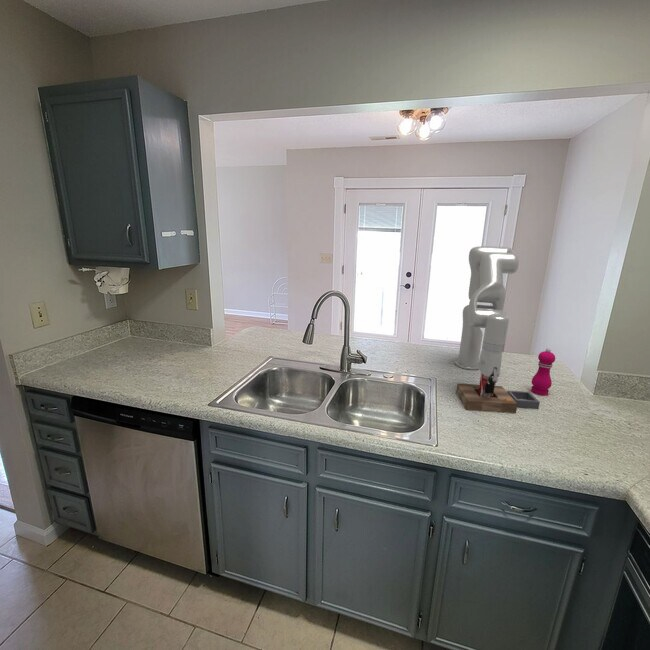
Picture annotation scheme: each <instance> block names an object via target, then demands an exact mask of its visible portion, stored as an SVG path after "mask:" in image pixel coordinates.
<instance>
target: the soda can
mask: <svg viewBox="0 0 650 650" xmlns="http://www.w3.org/2000/svg"><path fill="white" fill-rule="evenodd" d="M490 376H493V375H490ZM480 378H481V379H479V384H480V386H479V392H478V395H479V397H493V393H485V385H486V383H487V377H485V376H484V375H483V373H480ZM491 379H493V378H490V380H491Z"/></svg>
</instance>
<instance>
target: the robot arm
mask: <svg viewBox="0 0 650 650" xmlns="http://www.w3.org/2000/svg"><path fill="white" fill-rule="evenodd" d="M468 264H469V268H470V279H469V286H468V288H469V289H468V299H469V303H468V304H467V305H465V306H464V307H463V310H462V328H461V329H462V330H461V337H460V346H459V354H458V358H457V359H455V360H454V364H455V365H456V366H457V367H458V368H461V369H464V370H471V371H473V370H474V371H475V370H479V371H480V372H481V373H483V375H484V376H485V377H487V383H486V385H485V393H494V387H495V386H496V383H497V382H498V379H499V377H500V373H501V367H502V366H501V365H502V358H503V357H502V354H503V353H504V350H505V345H506V344H505V343H506V339H507V334H508V328H509V322H510V319H509V316H508V314H507V312H506V311H504V307H505V300H506V288H505V286H504V274H505V275H506V274H509V275H512V274H515V273H516V272H517V271H518V269H519V256H518V255H517V253H516V252H515V251H514V250H513V249H512V248H511V247H509V246H508V247H507V246H489V245H488V246H487V245H485V246H484V245H483V246H480V245H479V246H475V247H472V248H471V249H470V251H469V253H468ZM478 303H484V304H478ZM487 304H488V305H487ZM489 304H492V305H489ZM482 329H484V333H483V331H482ZM482 340H483V341H482ZM481 346H482V347H481ZM481 373H480V374H481ZM490 375H493V376H490ZM490 378H493V379H491V380H490ZM480 379H481V377H480ZM480 379H479V380H480ZM478 385H480V383H479V384H478Z"/></svg>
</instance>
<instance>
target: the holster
mask: <svg viewBox="0 0 650 650" xmlns="http://www.w3.org/2000/svg"><path fill="white" fill-rule="evenodd" d="M506 391H507V392H508V394H509V395H510V396H511V397H512V398H513V399H514V400H515V401H516V403H517V404H518V405H517V407H518V408H519V409H533V410H534V409H536V410H539V407H540V402H541V401H540V400H538V399H537V398H536V397H535V396H534V395H533V394H532V393H531V392H530V391H522V390H506ZM518 408H517V409H518Z"/></svg>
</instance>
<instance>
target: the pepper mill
mask: <svg viewBox="0 0 650 650" xmlns="http://www.w3.org/2000/svg"><path fill="white" fill-rule="evenodd" d="M551 351H552V349H551V348H546V349H545V351H544V350H543V351H541V352H539V354H538V356H537V357H538V359H537V360H539V361H538V364H537V365H538V369H537V371H536V373H535V375H534V376H532V377H531V384H532V386H531V389H530V391H531V392H532V393H533V394H536V395H538V396H548V395H549V389H550V388H551V387H552V384H553V382H552V378H551V369H552V368H553V363H555V361H556V355H555V354H554V353H553V352H551Z"/></svg>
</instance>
